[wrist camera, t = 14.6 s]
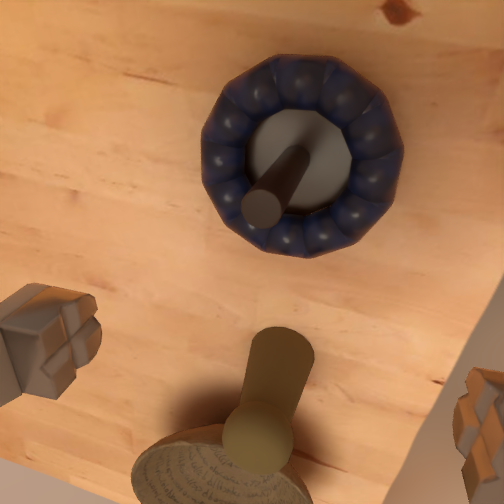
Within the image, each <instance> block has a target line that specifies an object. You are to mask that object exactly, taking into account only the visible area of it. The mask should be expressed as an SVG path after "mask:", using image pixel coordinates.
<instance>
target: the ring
mask: <svg viewBox="0 0 504 504" xmlns="http://www.w3.org/2000/svg"><path fill="white" fill-rule="evenodd" d="M284 109H294V110H308V111H316V112H317V113H319V114H320V115H321V116H323V117H324V118H326V119H327V120H328V121H330V122H331V123H332V124H334V125H335V126H336V127H338V128H339V129H340V130H341V132H342V134H343V137H344V139H345V142H346V144H347V147H348V149H349V152H350V154H351V157H352V160H351V166H350V172H349V179H348V185H347V187H346V188H345V189H344V190H343V191H342V193H341V194H340V195H339V196H338V197H337V199H336V200H335V201H334V202H333V204H332V205H331V206H330V207H327V208H325V209H322V210H319V211H317V212H314V213H312V214H309V215H306V216H303V215H295V214H288V213H283V215H282V217H281V218H280V220H279V222H278V223H277V224H276V225H274V226H273V227H270V228H266V229H260V228H256V227H254V226H252V225H250V224H249V223H248V222H247V221H246V220H245V218H244V217H243V215H242V212H241V202H242V199H243V197H244V196H245V195H246V194H247V192H248V191H249V190H250V189H251V188H252V186H251V184H250V182H249V180H248V178H247V176H246V174H245V145H246V144H247V142H248V141H249V139H250V137H251V136H252V134H253V132H254V131H255V129H256V127H257V126H258V124H259V122H261V121H263V120H265V119H267V118H269V117H270V116H272V115H274V114H276V113H278V112H280V111H282V110H284ZM403 156H404V145H403V142H402V139H401V136H400V133H399V131H398V128H397V125H396V122H395V120H394V117H393V114H392V111H391V108H390V106H389V103H388V100H387V98H386V96H385V94H384V93H383V92H382V91H381V90H380V89H379V88H378V87H376V86H375V85H374V84H372V83H371V82H370V81H368V80H367V79H366V78H364V77H363V76H362V75H360V74H359V73H358V72H356V71H355V70H354V69H352V68H351V67H350V66H348V65H347V64H345V63H344V62H343V61H341V60H340V59H338V58H336V57H332V56H316V55H293V54H277V55H274V56H272V57H269V58H268V59H266V60H264V61H263V62H261V63H259V64H258V65H256V66H254V67H253V68H251V69H249V70H248V71H246V72H244V73H243V74H241V75H239V76H238V77H236V78H234V79H233V80H231V81H230V82H228V83H227V84H226V85H225V87H224V88H223V90H222V92H221V94H220V96H219V98H218V99H217V101H216V103H215V105H214V107H213V109H212V111H211V113H210V115H209V117H208V118H207V120H206V122H205V124H204V126H203V128H202V131H201V175H202V183H203V186H204V188H205V190H206V192H207V193H208V195H209V197H210V199H211V201H212V203H213V204H214V206H215V208H216V210H217V212H218V214H219V215H220V217H221V219H222V221H223V222H224V224H225V225H226V226H227V227H228V228H230V229H231V230H232V231H234V232H235V233H237V234H238V235H240V236H241V237H242V238H244V239H245V240H247V241H248V242H250V243H251V244H252V245H254V246H255V247H257V248H258V249H260V250H261V251H263V252H267V253H273V254H279V255H286V256H292V257H298V258H305V259H310V258H315V257H318V256H321V255H324V254H327V253H330V252H333V251H336V250H339V249H342V248H345V247H348V246H351V245H354V244H355V243H357V242H358V241H359V240H360V239H361V238H362V237H363V236H364V235H365V234H366V233H367V232H368V231H369V230H370V229H371V228H372V227H373V226H374V224H375V223H376V222H377V221H378V220H379V219H380V218H381V217H382V216H383V215H384V214H385V213H386V212H387V211H388V209H389V208H390V207H391V205H392V203H393V201H394V197H395V193H396V188H397V184H398V179H399V175H400V170H401V165H402V161H403Z"/></svg>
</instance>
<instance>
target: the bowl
mask: <svg viewBox="0 0 504 504" xmlns="http://www.w3.org/2000/svg"><path fill="white" fill-rule="evenodd" d="M224 425H225V424H212V425H207V426H203V427H197V428H192V429H188V430H185V431H181V432H178V433H175V434H172V435H170V436H167V437H165V438H163V439H161V440H159V441H158V442H157V443H155V444H154V445H152V446H151V447H149V448H148V449H147V450H145V451H144V452H143V453H142V454H141V455H140V456H139V457H138V459H137V460H136V462H135V464H134V466H133V468H132V472H131V483H132V486H133V490H134V493H135V495H136V496H137V498H138V500H139V501H140V502H141V504H313V501H312V499H311V496H310V494H309V491H308V489H307V487H306V485H305V484H304V482H303V481H302V479H301V478H300V476H299V475H298V473H297V472H296V471H295V470H294V468H293V467H292V466H291V465H290V463H289V462H287V464H286V465H285V466H283V467H282V468H281V469H280V470H279V471H278V472H276V473H273V474H270V475H259V474H253V473H250V472H247V471H245V470H243V469H241V468H239V467H238V466H236V465H235V464H234V463H233V462H232V461H231V460H230V459H229V458H228V457H227V455H226V453H225V451H224V447H223V442H222V433H223V428H224Z"/></svg>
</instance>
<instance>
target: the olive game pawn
mask: <svg viewBox="0 0 504 504" xmlns="http://www.w3.org/2000/svg"><path fill="white" fill-rule="evenodd" d="M313 363H314V351H313V349H312V347H311V344H310V343H309V342H308V341H307V340H306V339H305V338H304V337H303V336H302V335H300V334H299V333H297V332H296V331H293V330H290V329H287V328H283V327H271V328H267V329H264V330H262V331H260V332H259V333H257V335H256V336H255V337H254V338H253V340H252V344H251V349H250V354H249V358H248V363H247V368H246V373H245V378H244V383H243V388H242V393H241V398H240V403H239V407H237V408H235V409H234V410H233V412H232V413H231V414H230V415H229V417H228V418H227V420H226V422H225V425H224V428H223V433H222V442H223V447H224V451H225V453H226V455H227V457H228V458H229V459H230V460H231V461H232V462H233V463H234V464H235V465H236V466H238V467H239V468H241V469H243V470H245V471H247V472H250V473H253V474H259V475H270V474H273V473H276V472H278V471H279V470H280V469H281V468H282V467H283V466H285V465H286V464H287V462H288V460H289V458H290V456H291V453H292V450H293V445H294V441H293V431H292V427H291V425H290V423H291V421H292V418H293V415H294V413H295V410H296V408H297V405H298V402H299V400H300V397H301V394H302V392H303V389H304V386H305V384H306V381H307V378H308V376H309V373H310V371H311V368H312V365H313Z"/></svg>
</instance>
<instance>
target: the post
mask: <svg viewBox="0 0 504 504" xmlns="http://www.w3.org/2000/svg"><path fill="white" fill-rule="evenodd" d="M351 160H352V157H351V154H350V152H349V149H348V147H347V144H346V142H345V139H344V137H343V134H342V132H341V130H340V129H339V128H338V127H336V126H335V125H334V124H332V123H331V122H330V121H328V120H327V119H326V118H324V117H323V116H321V115H320V114H319V113H317V112H316V111H308V110H294V109H284V110H282V111H280V112H278V113H276V114H274V115H272V116H270V117H269V118H267V119H265V120H263V121H261V122H259V124H258V126H257V127H256V129H255V131H254V132H253V134H252V136H251V137H250V139H249V141H248V142H247V144H246V145H245V174H246V176H247V178H248V180H249V182H250V184H251V186H252V188H251V189H250V190H249V191H248V192H247V194H246V195H245V196H244V197H243V199H242V202H241V212H242V215H243V217H244V218H245V220H246V221H247V222H248V223H249V224H250V225H252V226H254V227H256V228H260V229H266V228H270V227H273V226H274V225H276V224H277V223H278V222H279V220H280V218H281V217H282V215H283V213H288V214H295V215H303V216H304V215H307V214H310V213H312V212H315V211H317V210H320V209H323V208H325V207H328V206H330V205H332V204H333V202H334V201H335V200H336V199H337V197H338V196H339V195H340V194H341V193H342V191H343V190H344V189H345V188H346V187H347V185H348V179H349V172H350V166H351Z"/></svg>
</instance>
